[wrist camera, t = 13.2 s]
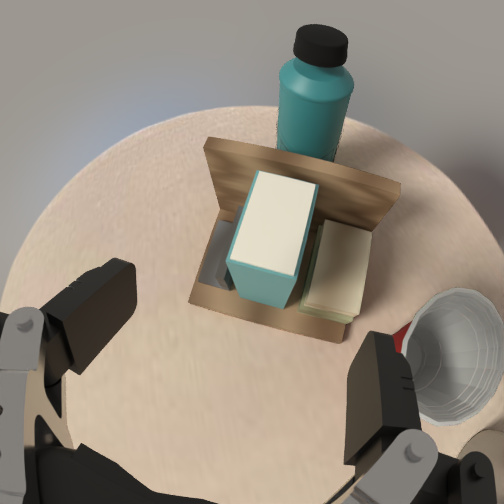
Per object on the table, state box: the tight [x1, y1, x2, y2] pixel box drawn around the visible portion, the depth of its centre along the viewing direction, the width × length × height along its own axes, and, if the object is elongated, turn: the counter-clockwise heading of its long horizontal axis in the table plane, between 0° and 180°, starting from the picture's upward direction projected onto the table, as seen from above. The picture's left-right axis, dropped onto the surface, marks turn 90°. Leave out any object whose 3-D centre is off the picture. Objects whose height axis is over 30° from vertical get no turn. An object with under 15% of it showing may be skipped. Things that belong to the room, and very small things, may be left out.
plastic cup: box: [392, 287, 504, 426], centre depth 22 cm, size 11×11×12 cm
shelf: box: [188, 137, 401, 344], centre depth 26 cm, size 16×12×12 cm
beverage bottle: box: [276, 24, 354, 163], centre depth 26 cm, size 6×7×20 cm
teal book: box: [226, 170, 319, 309], centre depth 25 cm, size 4×7×12 cm, turn 164°
